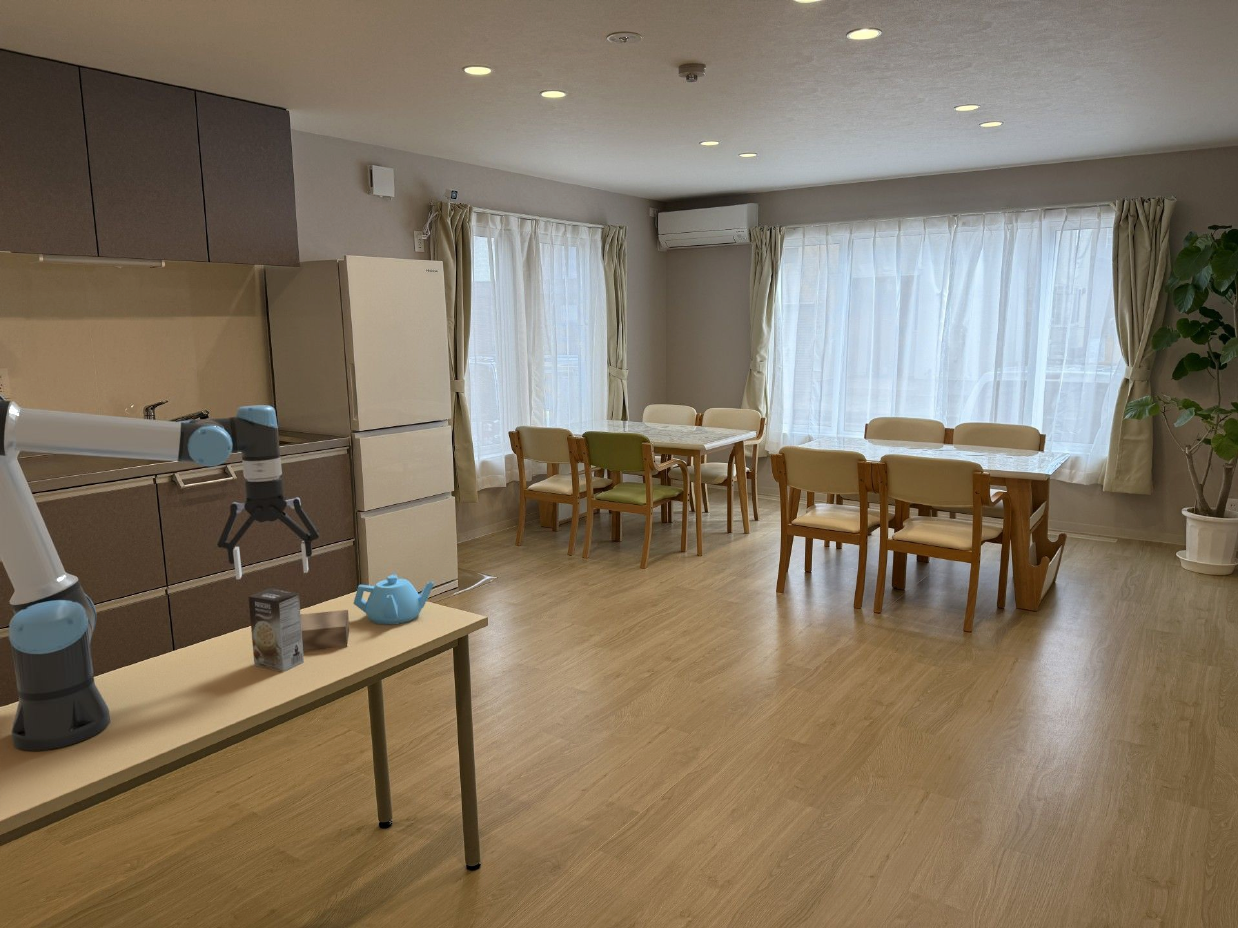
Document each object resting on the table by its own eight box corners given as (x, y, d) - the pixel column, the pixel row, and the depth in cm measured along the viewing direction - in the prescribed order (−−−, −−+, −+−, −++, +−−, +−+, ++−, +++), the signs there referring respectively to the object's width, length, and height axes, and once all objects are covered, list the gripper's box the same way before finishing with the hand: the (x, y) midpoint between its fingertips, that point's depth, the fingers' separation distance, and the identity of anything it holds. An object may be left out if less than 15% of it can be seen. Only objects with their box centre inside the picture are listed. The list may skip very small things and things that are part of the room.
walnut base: (292, 652, 192) (290, 631, 191) (297, 634, 203) (295, 614, 203) (347, 646, 195) (345, 626, 194) (349, 629, 207) (348, 609, 206)
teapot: (398, 603, 226) (395, 564, 224) (437, 613, 217) (435, 572, 216) (351, 620, 213) (348, 579, 212) (391, 631, 205) (388, 588, 203)
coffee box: (252, 666, 185) (246, 595, 182) (275, 655, 191) (269, 587, 188) (283, 672, 181) (277, 600, 178) (306, 661, 187) (300, 592, 184)
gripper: (195, 485, 172) (206, 585, 176) (323, 476, 179) (332, 573, 182) (203, 479, 180) (213, 575, 183) (326, 471, 186) (334, 563, 189)
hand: (272, 574), depth 183 cm, fingers open, 13 cm apart
